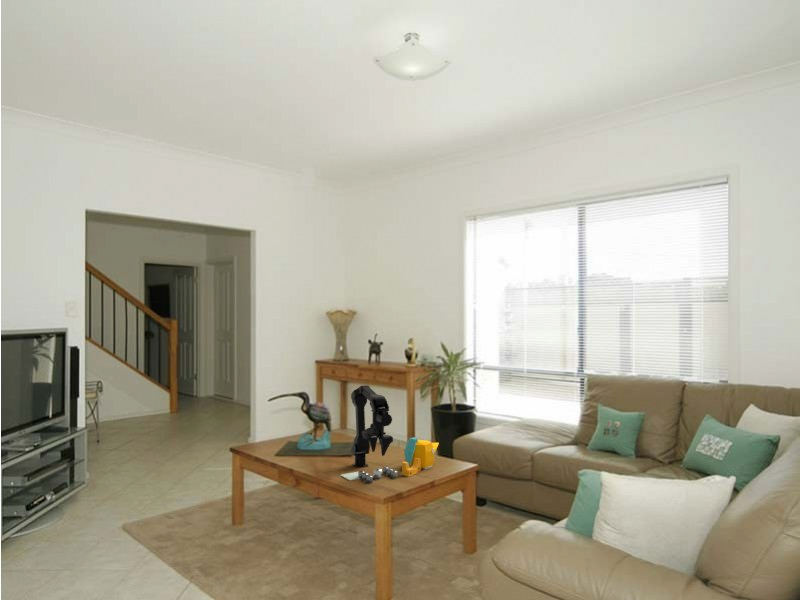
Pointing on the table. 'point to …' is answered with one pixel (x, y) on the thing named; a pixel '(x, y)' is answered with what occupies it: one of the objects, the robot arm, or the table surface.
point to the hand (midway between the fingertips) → (378, 453)
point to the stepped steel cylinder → (377, 473)
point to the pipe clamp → (411, 470)
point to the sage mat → (351, 476)
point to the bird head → (420, 452)
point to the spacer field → (369, 478)
